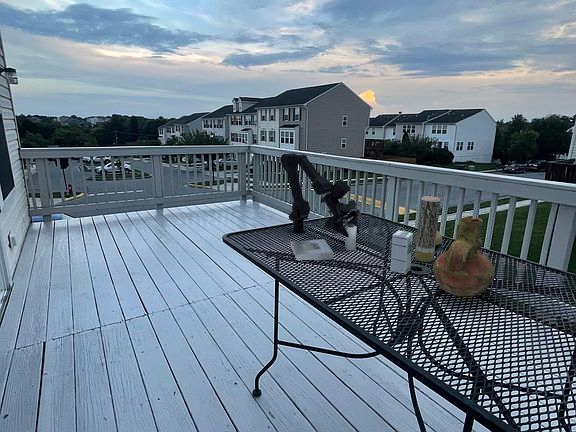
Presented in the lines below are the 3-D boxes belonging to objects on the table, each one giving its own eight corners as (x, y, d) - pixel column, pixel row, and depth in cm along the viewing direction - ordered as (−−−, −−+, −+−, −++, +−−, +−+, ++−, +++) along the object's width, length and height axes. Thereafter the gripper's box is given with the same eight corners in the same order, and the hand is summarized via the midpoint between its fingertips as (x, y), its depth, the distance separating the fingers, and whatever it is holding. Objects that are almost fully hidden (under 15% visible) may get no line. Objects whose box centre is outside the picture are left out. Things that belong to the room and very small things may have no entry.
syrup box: (405, 275, 116) (409, 237, 112) (389, 270, 119) (392, 233, 115) (410, 269, 120) (414, 232, 116) (394, 265, 124) (398, 229, 120)
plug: (343, 247, 142) (344, 223, 139) (352, 246, 143) (353, 222, 140) (348, 251, 138) (349, 226, 135) (357, 249, 139) (358, 225, 136)
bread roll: (408, 247, 141) (410, 230, 139) (424, 239, 150) (426, 223, 148) (429, 254, 134) (432, 235, 132) (445, 244, 144) (447, 227, 141)
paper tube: (429, 255, 132) (437, 196, 125) (435, 262, 125) (443, 200, 118) (412, 255, 133) (418, 196, 125) (417, 262, 126) (424, 200, 119)
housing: (290, 247, 142) (290, 241, 141) (323, 245, 144) (324, 239, 143) (296, 261, 128) (296, 254, 127) (333, 259, 130) (333, 252, 129)
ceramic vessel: (496, 282, 110) (510, 212, 103) (482, 318, 90) (497, 233, 83) (443, 269, 120) (452, 204, 113) (420, 298, 101) (429, 221, 94)
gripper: (330, 198, 131) (351, 230, 126) (358, 191, 143) (378, 220, 138) (316, 213, 139) (335, 243, 134) (343, 205, 151) (362, 233, 146)
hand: (353, 235), depth 138 cm, fingers open, 7 cm apart
